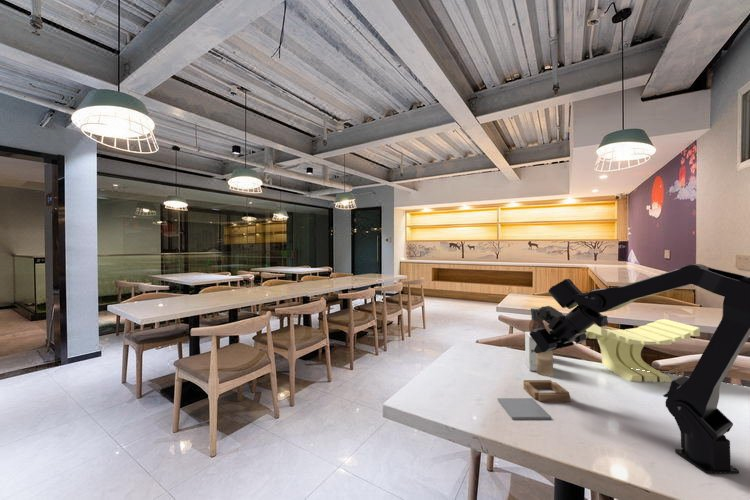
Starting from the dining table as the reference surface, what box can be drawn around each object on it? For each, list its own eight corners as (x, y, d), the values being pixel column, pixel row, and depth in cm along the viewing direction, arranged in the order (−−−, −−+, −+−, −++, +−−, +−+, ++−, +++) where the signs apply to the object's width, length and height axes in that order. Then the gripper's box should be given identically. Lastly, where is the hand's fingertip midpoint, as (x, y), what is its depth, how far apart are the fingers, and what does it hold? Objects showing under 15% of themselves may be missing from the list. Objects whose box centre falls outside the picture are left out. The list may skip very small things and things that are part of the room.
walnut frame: (572, 401, 86) (572, 394, 86) (537, 401, 86) (537, 394, 87) (552, 386, 96) (552, 380, 96) (521, 386, 96) (521, 380, 97)
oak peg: (556, 376, 89) (555, 342, 89) (541, 376, 89) (540, 342, 89) (548, 370, 94) (547, 338, 94) (534, 370, 94) (533, 338, 94)
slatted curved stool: (659, 364, 113) (658, 317, 113) (701, 382, 97) (699, 327, 97) (575, 363, 116) (573, 316, 116) (602, 380, 100) (601, 327, 100)
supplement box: (529, 371, 109) (528, 336, 109) (525, 363, 116) (524, 331, 116) (552, 373, 107) (551, 337, 107) (546, 365, 114) (546, 332, 114)
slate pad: (551, 419, 78) (551, 416, 78) (512, 419, 78) (512, 416, 78) (532, 400, 88) (532, 398, 88) (497, 400, 88) (497, 398, 88)
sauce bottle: (549, 360, 119) (548, 310, 119) (532, 359, 120) (531, 309, 121) (543, 354, 126) (542, 307, 126) (527, 354, 127) (526, 306, 127)
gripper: (574, 296, 92) (541, 324, 102) (534, 301, 84) (503, 332, 94) (604, 327, 85) (565, 354, 95) (564, 336, 77) (526, 365, 87)
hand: (540, 350), depth 93 cm, fingers closed on oak peg, 4 cm apart
